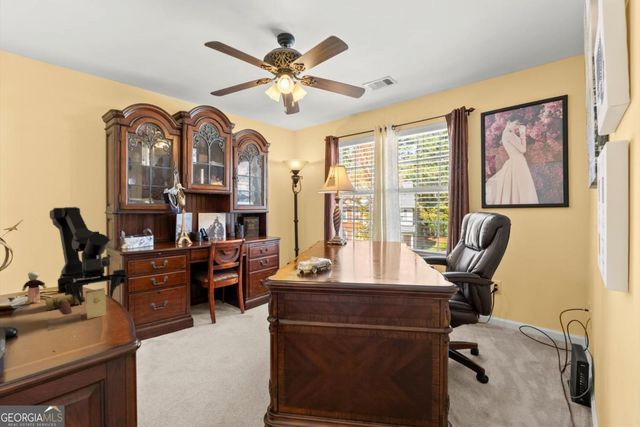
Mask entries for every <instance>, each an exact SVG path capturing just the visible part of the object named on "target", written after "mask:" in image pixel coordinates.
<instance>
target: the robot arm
mask: <svg viewBox="0 0 640 427" xmlns="http://www.w3.org/2000/svg"><path fill="white" fill-rule="evenodd" d="M82 216H83V215H82V214H81V208H80V207H77V206H69V207H68V206H65V207H53V209H51V210H50V211H49V219H50V220H51V221H52V224H53V226H55V228H57V229H58V231H59V234H60V236H59V237H60V240H61V247H62V252H63V253H62V254H63V258H64V259H63V260H64V266H63V267H62V269H61V270H60V271H61V272H60V276H59V278H58V279H57V290H58V294H64V296H65V295H72V296H73V297H74V298H75V299H76V300H77V302H78V303H79V304H78V305H80V306H82V305H83V304H82V302H86V296H84V286H88V285H90V284H97V283H102V282H109V281H110V284H109V285H110V286H109V299H110V301H111V300H112V299H113V296H114V294H115V290H116V289H117V287H120V285H121V284H125V283H127V280H128V279H127V278H128V271H127V270H126V269H125V268H119V269H114V270H112V274H106V275H105V272H106V271H105V268H106V267H110V265H111V260H110V256H102V254H104V253H105V251H106V249H107V245H108V244H109V237H108V236H107V235H105V234H102V233H100V231H98V230H97V231H92V230H90V229H89V228H88V226H87V224H86V222H85V221H84V219H83V217H82ZM79 254H80V255H79ZM80 256H81V260H80ZM80 293H81V295H80Z"/></svg>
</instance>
